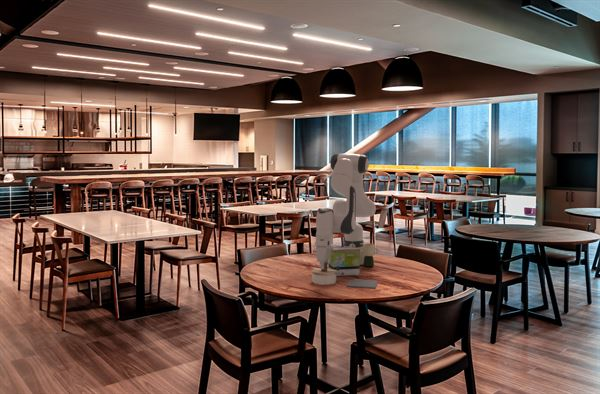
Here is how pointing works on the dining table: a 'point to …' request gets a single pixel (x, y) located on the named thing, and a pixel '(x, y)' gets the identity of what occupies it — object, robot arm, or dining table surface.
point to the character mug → (368, 254)
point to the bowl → (324, 279)
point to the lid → (324, 271)
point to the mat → (362, 283)
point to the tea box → (345, 260)
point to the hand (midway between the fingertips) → (324, 266)
